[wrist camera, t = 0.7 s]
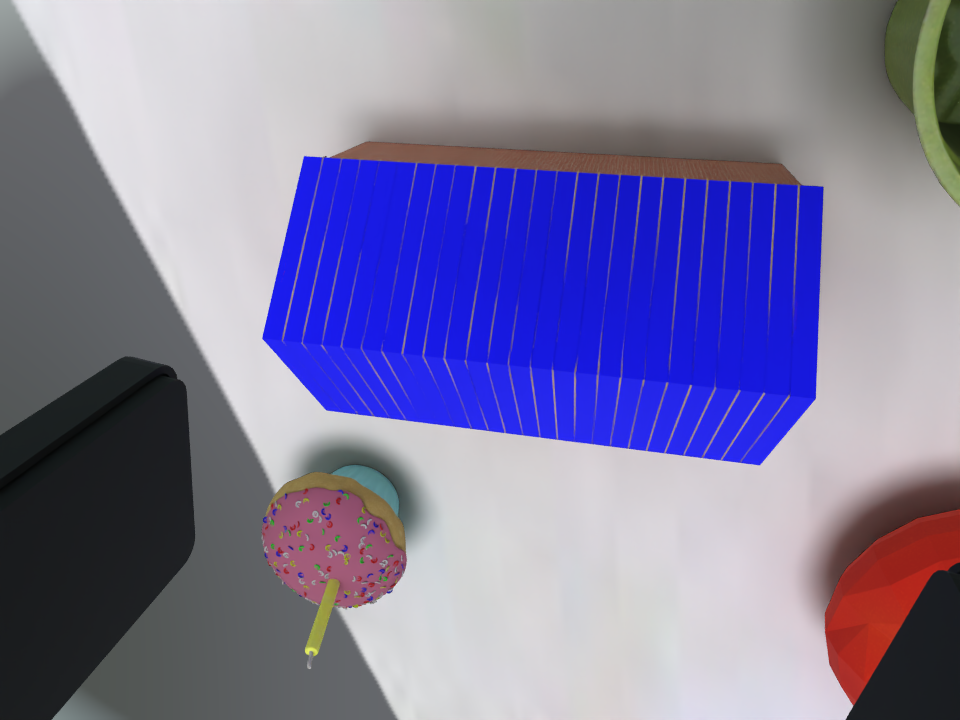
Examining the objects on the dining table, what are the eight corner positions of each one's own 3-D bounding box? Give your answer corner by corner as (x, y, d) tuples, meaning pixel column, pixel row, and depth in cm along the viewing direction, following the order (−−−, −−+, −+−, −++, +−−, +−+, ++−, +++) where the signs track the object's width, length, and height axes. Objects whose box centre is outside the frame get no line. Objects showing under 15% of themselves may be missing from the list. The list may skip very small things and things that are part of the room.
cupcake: (451, 490, 43) (387, 644, 32) (388, 572, 47) (312, 733, 36) (331, 413, 42) (225, 544, 32) (277, 502, 46) (167, 645, 36)
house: (741, 394, 36) (779, 540, 26) (373, 353, 40) (278, 468, 30) (789, 155, 31) (861, 221, 21) (361, 133, 35) (242, 180, 24)
